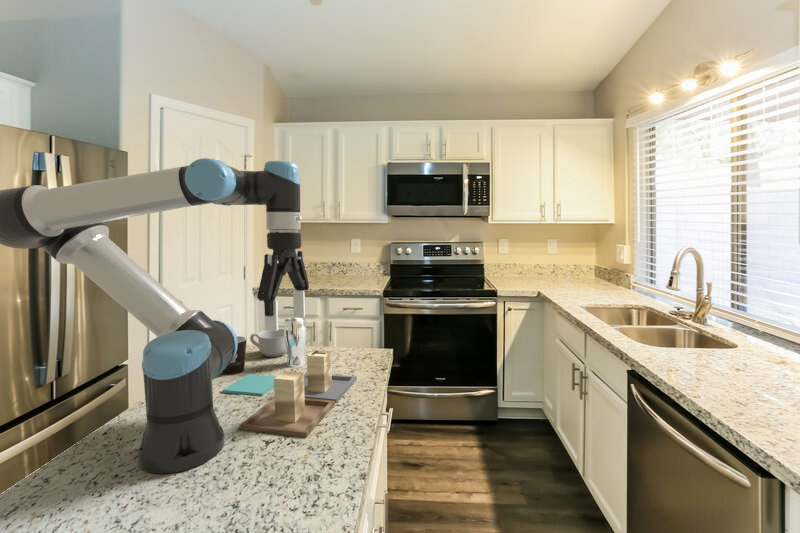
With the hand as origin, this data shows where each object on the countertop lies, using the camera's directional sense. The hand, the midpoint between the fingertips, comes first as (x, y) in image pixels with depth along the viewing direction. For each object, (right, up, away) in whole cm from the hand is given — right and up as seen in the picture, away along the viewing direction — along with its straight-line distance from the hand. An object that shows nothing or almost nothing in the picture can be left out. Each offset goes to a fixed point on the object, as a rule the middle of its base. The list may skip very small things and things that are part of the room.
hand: (286, 323), depth 93 cm
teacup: (-20, -18, +49) cm, 56 cm away
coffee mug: (-27, -20, +32) cm, 47 cm away
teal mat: (-15, -21, +20) cm, 33 cm away
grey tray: (+4, -21, +18) cm, 28 cm away
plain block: (0, -22, +2) cm, 23 cm away
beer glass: (-8, -19, +38) cm, 44 cm away
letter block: (+4, -21, +18) cm, 28 cm away
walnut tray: (0, -23, +2) cm, 23 cm away
